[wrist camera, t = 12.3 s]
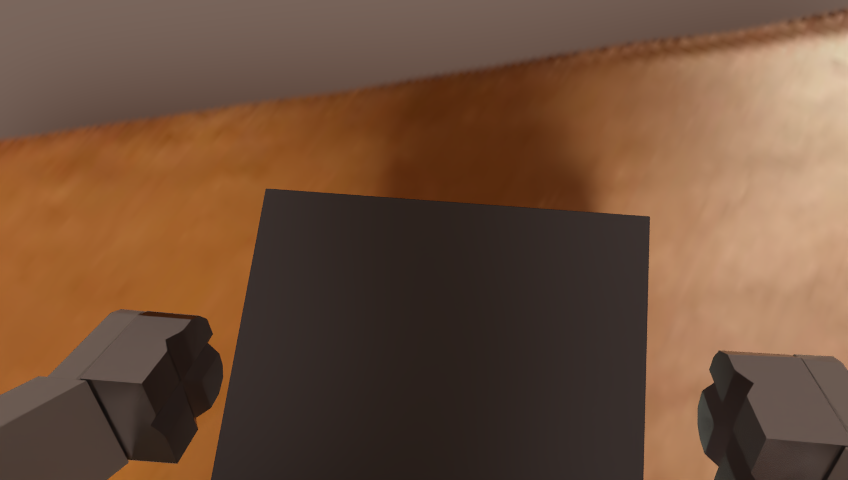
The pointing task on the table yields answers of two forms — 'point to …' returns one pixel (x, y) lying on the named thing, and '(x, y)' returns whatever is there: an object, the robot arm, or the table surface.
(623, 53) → the table surface
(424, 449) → the charcoal block
